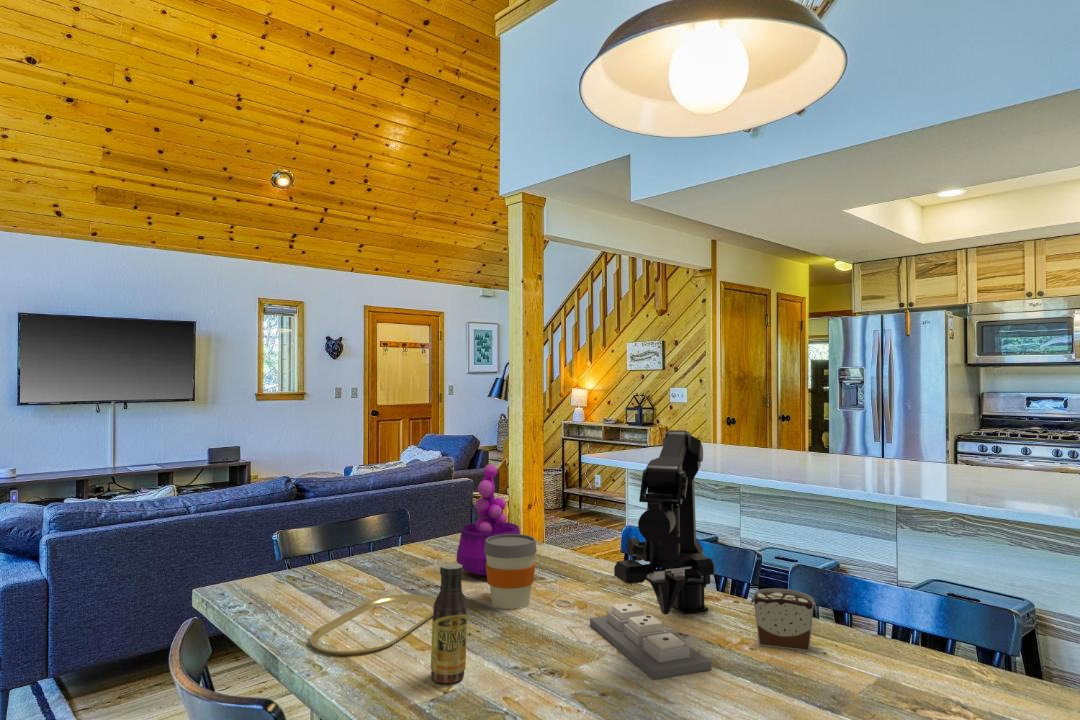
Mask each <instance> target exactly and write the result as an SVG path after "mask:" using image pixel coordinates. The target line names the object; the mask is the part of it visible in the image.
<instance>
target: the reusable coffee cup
mask: <svg viewBox="0 0 1080 720" xmlns="http://www.w3.org/2000/svg"><path fill="white" fill-rule="evenodd" d="M536 541H537V540H536V538H535V537H534V536H532V535H526V534H521V533H520V534H503V535H495V536H491V537H489V538H487V539H486V540H485V550H484V553H485V554H486V559H487V562H486V564H485V565H486V573H487V576H486V579H487V584H488V585H489V591H490V596H491V604H492V606H493V607H495V608H497V609H502V610H516V609H515V608H518V609H521V608H520V607H523V608H525V607H527V606H529V604H530V600H531V599H530V598H531V593H532V592H531V590H532V585H533V583H534V579H535V571H536V564H537V563H536V561H535V557H536V553H537V550H538V549H537V542H536ZM526 605H527V606H526ZM524 606H525V607H524Z"/></svg>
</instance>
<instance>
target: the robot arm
mask: <svg viewBox="0 0 1080 720" xmlns="http://www.w3.org/2000/svg"><path fill="white" fill-rule="evenodd" d="M703 459H704V447H703V444H702V441H701V440H700V439H699V438H697V437H695V436H693V435H691V432H690V431H687V430H679V429H678V430H677V429H675V430H674V429H672V430H671V429H669V430H666V431H665V436H664V438H663V439H662V448H661V451H660V453H659V456H658V457H655V458H654V459H651V460H649V462H648V463H647V465H646V468H645V469H643V471H642V475H641V477H642V478H641V485H640V492H639V497H638V498H639V499H638V500H639V501H638V502H639V503H647V504H646V505H647V507H646V509H645V511H644V512H643V513H641V515H640V517H639V519H638V522H637V527H638V528H637V529H638V531H639V533H640V535H641V536H642V537H643V538H644V541H640V539H639V538H638V537H635V538H628V539H627V540H626V551H627V555H628V556H629V557H632V556H633V557H634V556H635V557H636V560H635V559H627V560H618V561H617V562H616V563H615V565H614V566H613V567H614V568H613V571H614V573H613V574H614V577H616V578H617V579H619V580H620V581H622V582H624V583H625V584H628V585H629V584H630V585H631V584H641V583H644V582H645V581H647V582H648V583H649V584H650V585H651V587H652V590H653V591H654V595H655V596H656V597H655V598H656V599H657V602H658V605H659V608H660V611H661V613H662V614H663V615H669V613H671V612H670V611H671V610H672V607H673V608H674V609H676V610H677V611H679V612H681V613H682V614H691V613H692V614H694V613H699V612H707V611H709V607H707V606H705V587H706V586H707V585H711V576H712V575H715V574H716V571H715V568H716V567H715V566H716V565H715V563H714V560H712V558H711V557H708V556H706V555H704V553H705V552H704V551H705V550H704V548H703V546H702V545H701V543H700V542H699V540H698V539H697V526H696V500H695V499H696V493H695V477H696V476H697V474H698V471H699V470H700V468H701V465H702V464H701V463H702V462H703V461H704V460H703ZM642 560H643V561H644V562H646V563H644V564H643V563H640V562H638V561H642Z"/></svg>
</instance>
